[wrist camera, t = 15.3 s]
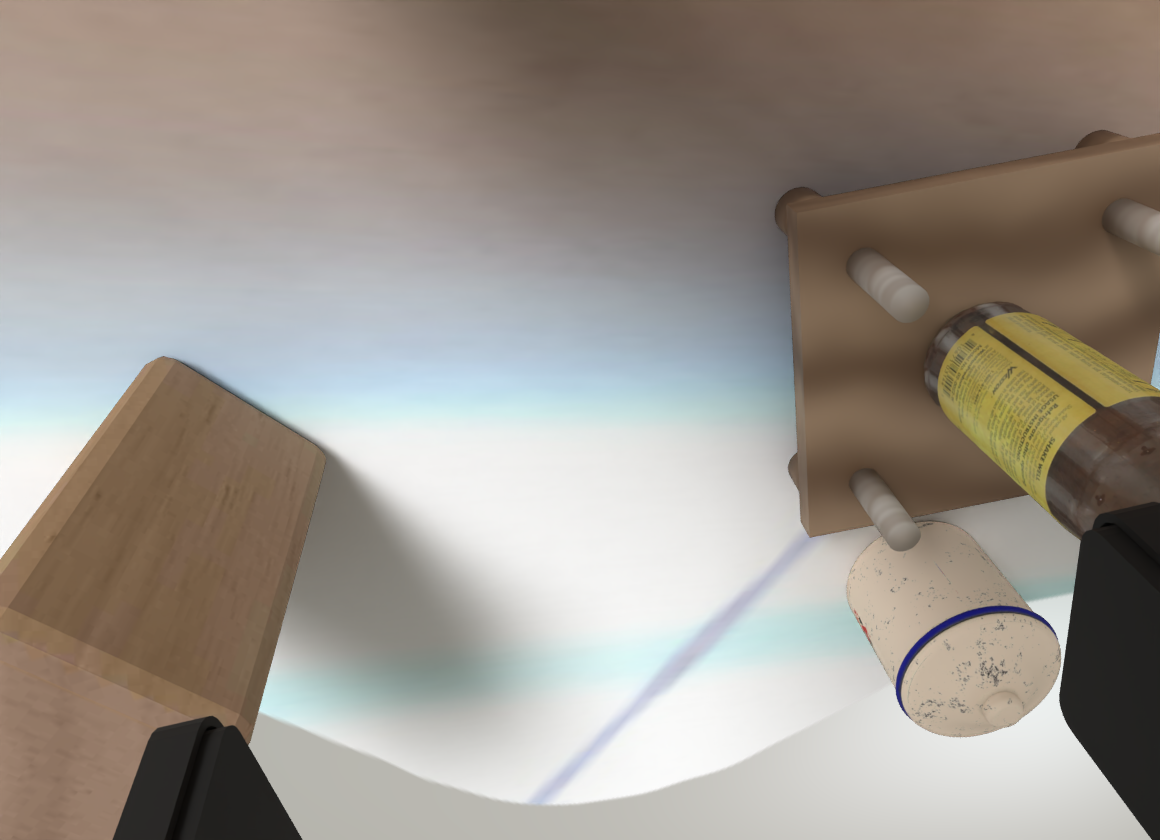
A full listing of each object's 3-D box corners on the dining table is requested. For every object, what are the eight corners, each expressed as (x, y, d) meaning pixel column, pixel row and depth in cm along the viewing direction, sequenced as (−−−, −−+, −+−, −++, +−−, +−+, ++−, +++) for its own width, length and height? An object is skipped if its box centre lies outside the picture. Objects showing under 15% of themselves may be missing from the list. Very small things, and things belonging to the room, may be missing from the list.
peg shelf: (767, 187, 43) (837, 248, 35) (1128, 118, 44) (1283, 163, 35) (784, 491, 52) (843, 598, 44) (1084, 433, 52) (1200, 527, 44)
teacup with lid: (814, 610, 57) (888, 758, 47) (891, 497, 53) (990, 631, 43) (962, 654, 60) (1063, 801, 50) (1045, 550, 57) (1171, 687, 46)
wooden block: (336, 449, 48) (259, 749, 30) (235, 569, 51) (111, 906, 33) (162, 341, 44) (-42, 614, 26) (63, 479, 47) (-178, 805, 29)
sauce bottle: (938, 431, 46) (1222, 739, 28) (900, 334, 43) (1191, 611, 25) (1058, 372, 45) (1428, 653, 27) (1027, 269, 42) (1420, 510, 25)
